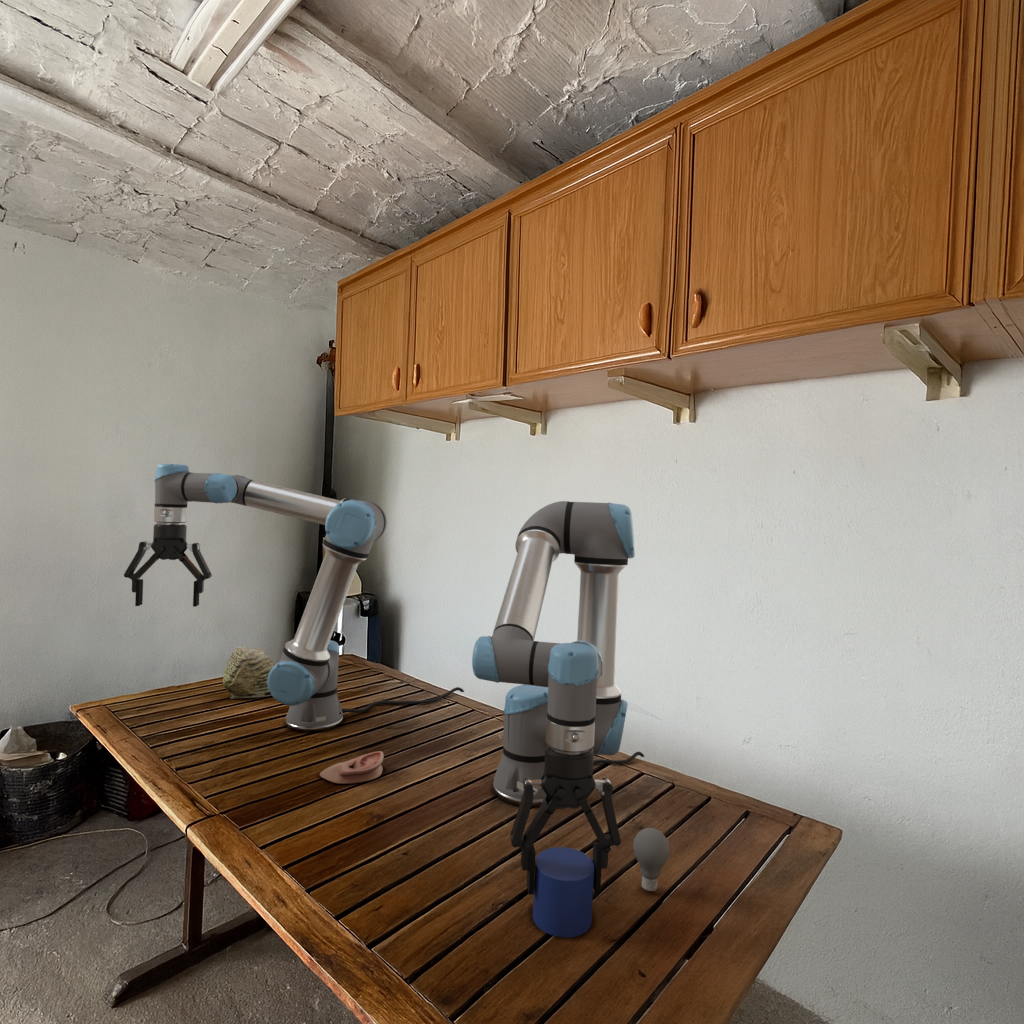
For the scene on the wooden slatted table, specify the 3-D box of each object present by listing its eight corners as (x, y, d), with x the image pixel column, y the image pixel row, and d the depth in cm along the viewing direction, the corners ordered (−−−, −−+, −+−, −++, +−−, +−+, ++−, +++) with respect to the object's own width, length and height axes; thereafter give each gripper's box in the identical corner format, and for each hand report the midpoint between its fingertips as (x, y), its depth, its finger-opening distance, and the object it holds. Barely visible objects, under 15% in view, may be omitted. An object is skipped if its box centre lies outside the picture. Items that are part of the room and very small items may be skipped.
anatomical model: (313, 762, 141) (337, 743, 152) (312, 780, 141) (337, 759, 152) (369, 770, 138) (389, 750, 149) (368, 788, 138) (389, 767, 149)
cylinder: (600, 934, 95) (603, 877, 95) (541, 941, 93) (544, 883, 93) (579, 897, 104) (582, 844, 104) (526, 902, 102) (528, 849, 102)
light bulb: (627, 878, 109) (629, 820, 109) (660, 878, 109) (663, 821, 109) (636, 900, 103) (639, 839, 103) (672, 900, 104) (675, 839, 103)
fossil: (218, 695, 195) (220, 647, 195) (278, 685, 208) (279, 640, 207) (228, 703, 189) (230, 653, 188) (289, 692, 201) (290, 645, 201)
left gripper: (110, 522, 157) (108, 607, 158) (218, 526, 163) (215, 608, 163) (123, 521, 165) (120, 602, 165) (225, 524, 170) (222, 603, 170)
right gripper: (499, 755, 93) (493, 905, 94) (647, 755, 95) (640, 902, 96) (495, 736, 101) (489, 875, 101) (632, 737, 103) (626, 872, 103)
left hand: (167, 605), depth 164 cm, fingers open, 13 cm apart
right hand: (563, 888), depth 98 cm, fingers open, 10 cm apart
